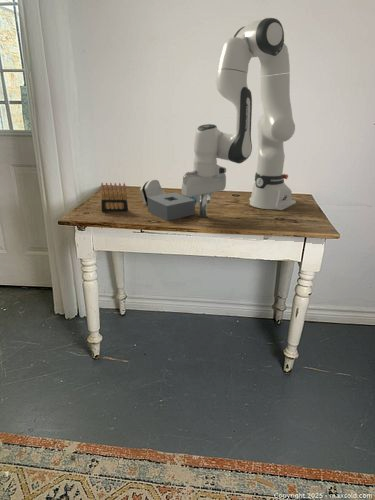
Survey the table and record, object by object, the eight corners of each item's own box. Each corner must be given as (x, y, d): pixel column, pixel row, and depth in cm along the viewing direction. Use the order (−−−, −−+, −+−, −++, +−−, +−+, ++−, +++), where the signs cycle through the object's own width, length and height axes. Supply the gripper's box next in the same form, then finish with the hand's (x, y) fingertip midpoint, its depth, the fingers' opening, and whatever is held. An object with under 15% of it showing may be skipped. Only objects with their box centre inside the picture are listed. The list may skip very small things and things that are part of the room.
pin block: (174, 205, 152) (174, 192, 150) (194, 214, 142) (195, 200, 140) (147, 211, 144) (147, 197, 142) (166, 220, 134) (166, 206, 132)
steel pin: (203, 214, 142) (204, 191, 138) (208, 216, 140) (209, 192, 136) (197, 216, 140) (198, 192, 136) (202, 218, 138) (203, 193, 134)
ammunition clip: (101, 211, 142) (99, 183, 137) (102, 210, 144) (100, 182, 139) (127, 211, 143) (126, 183, 138) (128, 210, 145) (126, 182, 140)
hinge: (154, 205, 151) (146, 184, 148) (145, 208, 153) (137, 186, 150) (166, 195, 166) (160, 175, 163) (158, 198, 168) (151, 178, 164)
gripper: (188, 174, 124) (187, 211, 130) (229, 168, 136) (227, 202, 141) (178, 171, 128) (177, 206, 134) (218, 165, 140) (216, 198, 146)
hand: (203, 204), depth 138 cm, fingers closed on steel pin, 3 cm apart
